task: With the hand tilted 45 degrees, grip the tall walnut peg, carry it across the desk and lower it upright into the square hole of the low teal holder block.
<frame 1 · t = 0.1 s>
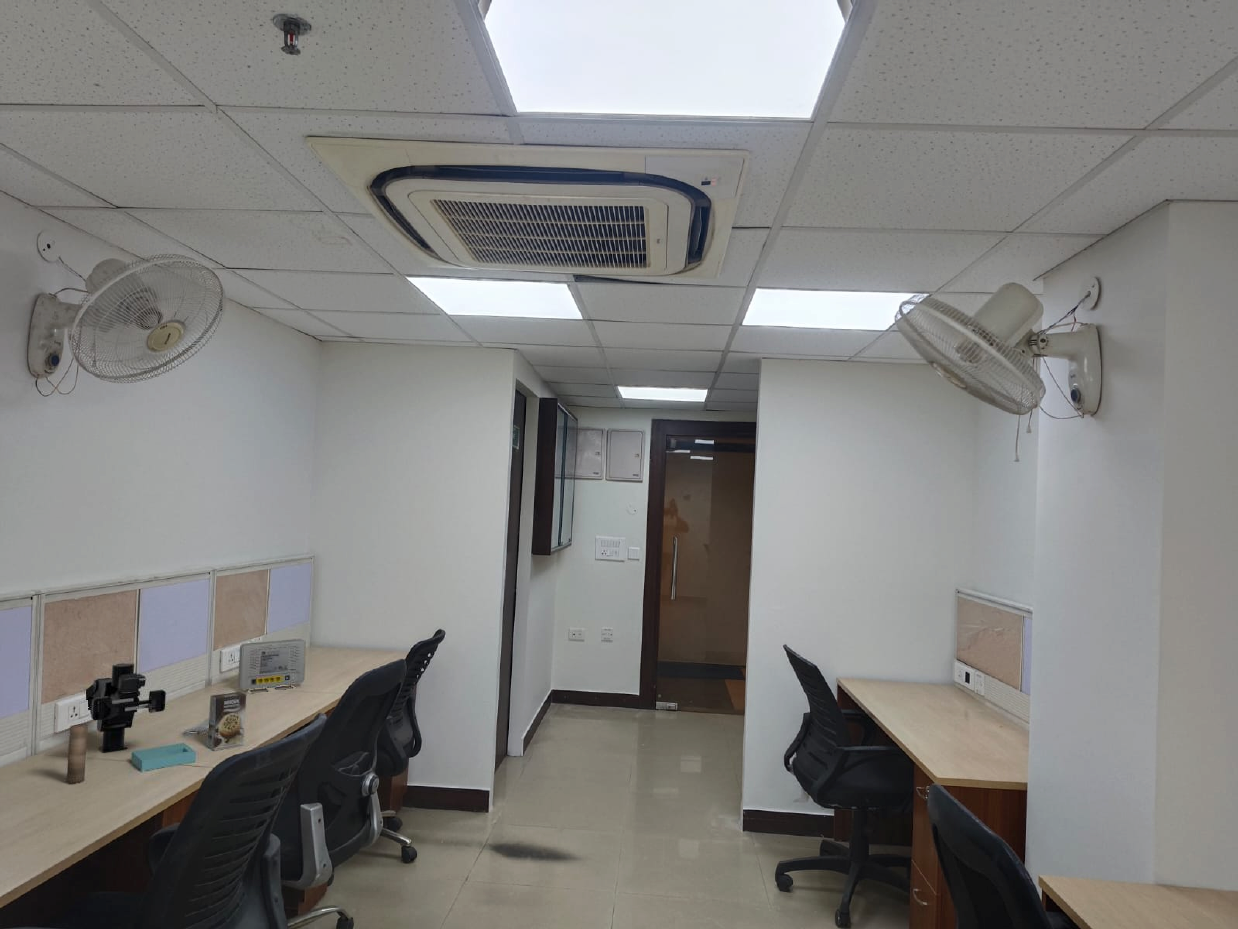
hand: (136, 710, 229), 17 cm above the table, tool horizontal, fingers open, 9 cm apart
holder block: (163, 762, 235), on the table
network device: (271, 690, 331), on the table
brown cookie box: (225, 747, 251), on the table
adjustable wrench: (206, 728, 274), on the table
peg: (75, 782, 216), on the table
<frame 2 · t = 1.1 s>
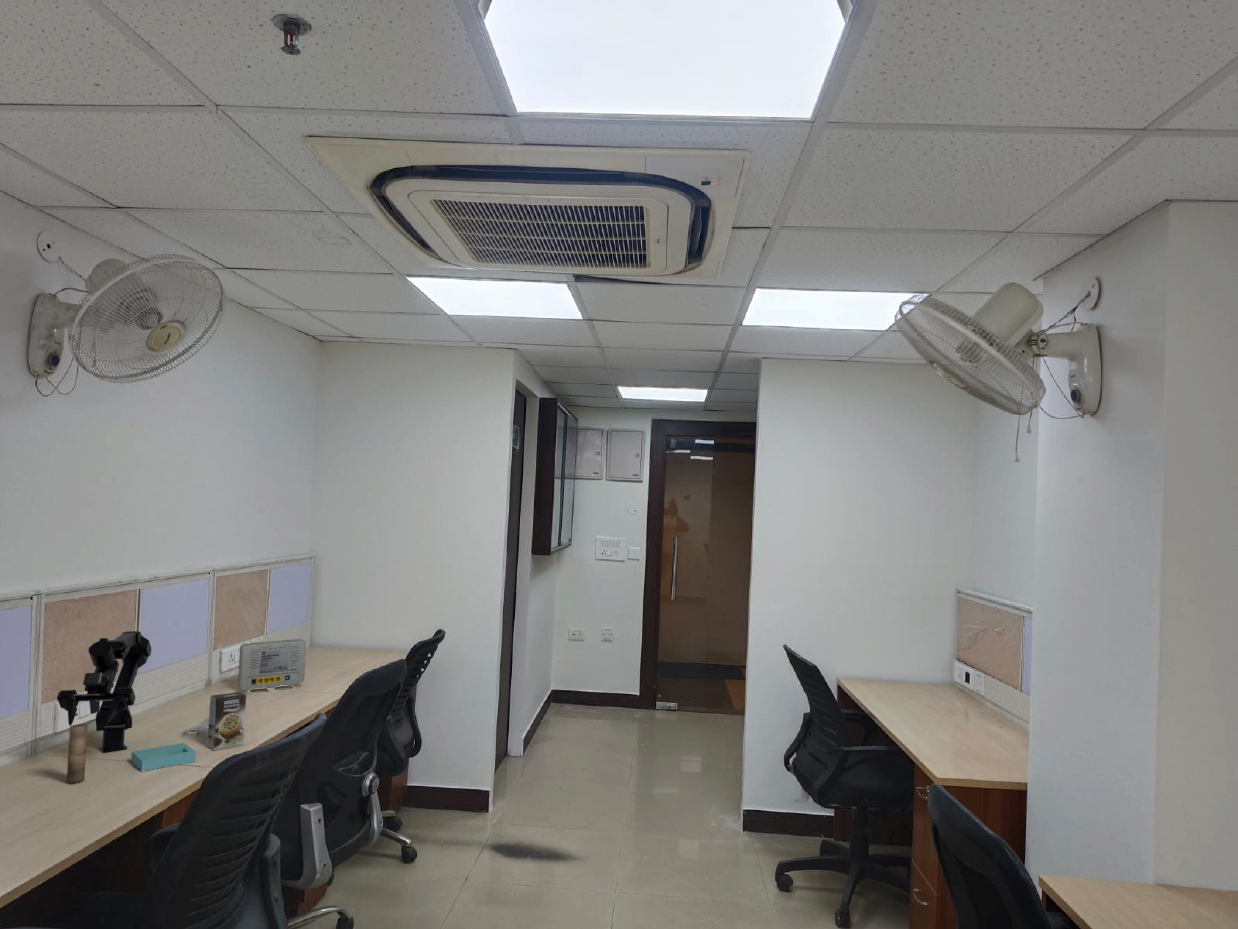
hand: (88, 724, 224), 14 cm above the table, tool tilted 45°, fingers open, 9 cm apart
nothing on the table moved.
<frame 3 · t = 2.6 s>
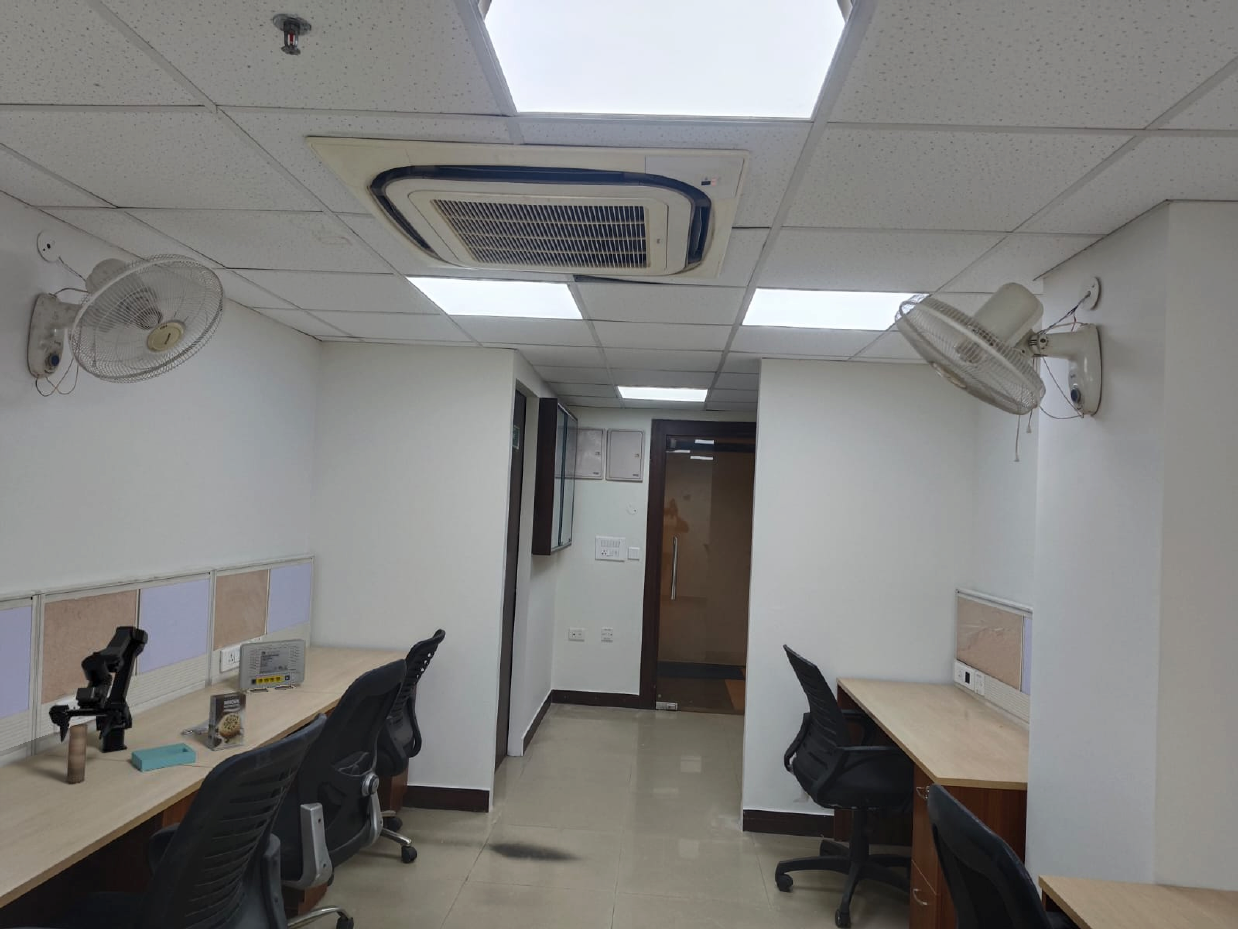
hand: (80, 740, 219), 11 cm above the table, tool tilted 45°, fingers open, 9 cm apart
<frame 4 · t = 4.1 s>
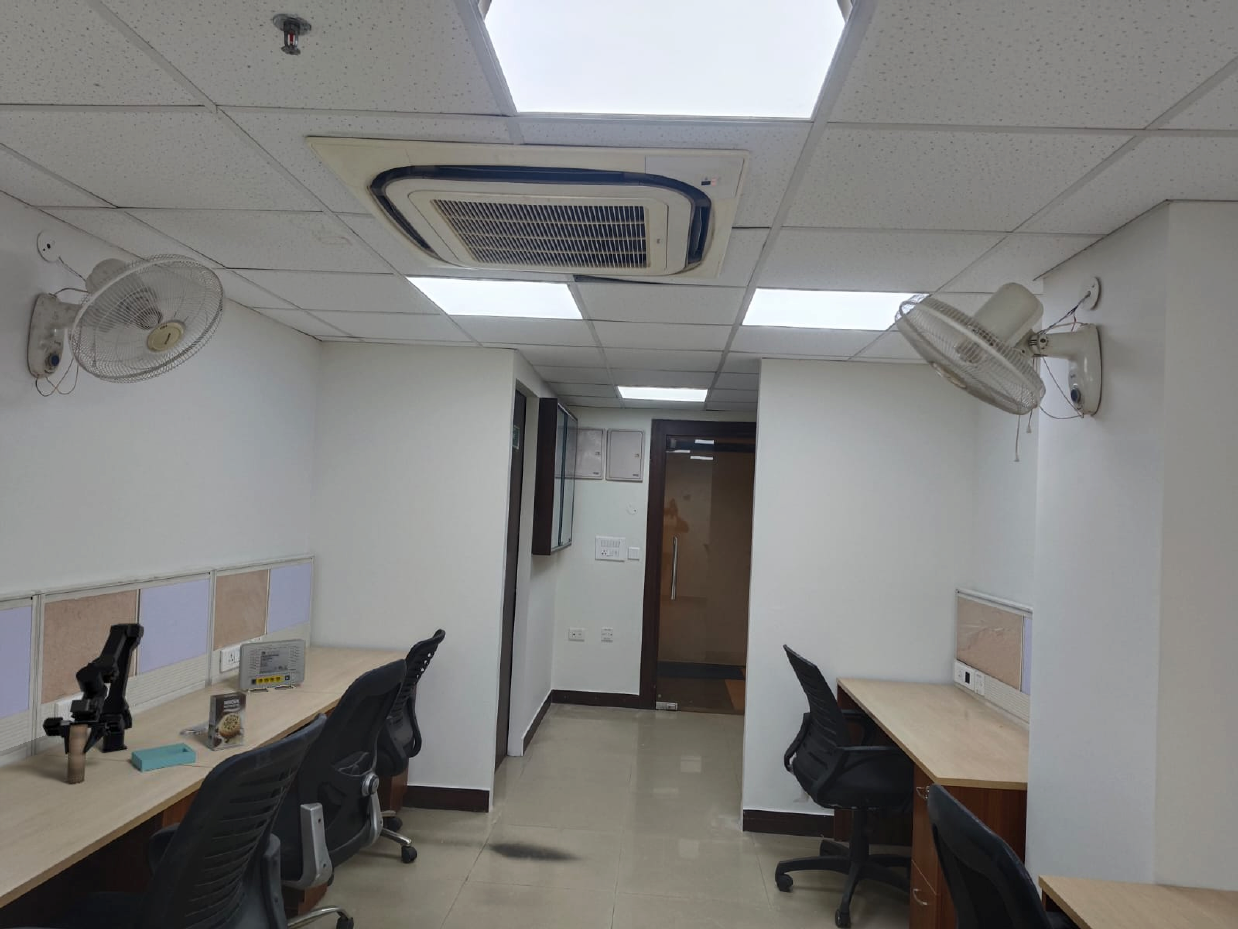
hand: (75, 753, 215), 8 cm above the table, tool tilted 45°, fingers closed on peg, 4 cm apart
peg: (75, 782, 216), on the table, touching gripper
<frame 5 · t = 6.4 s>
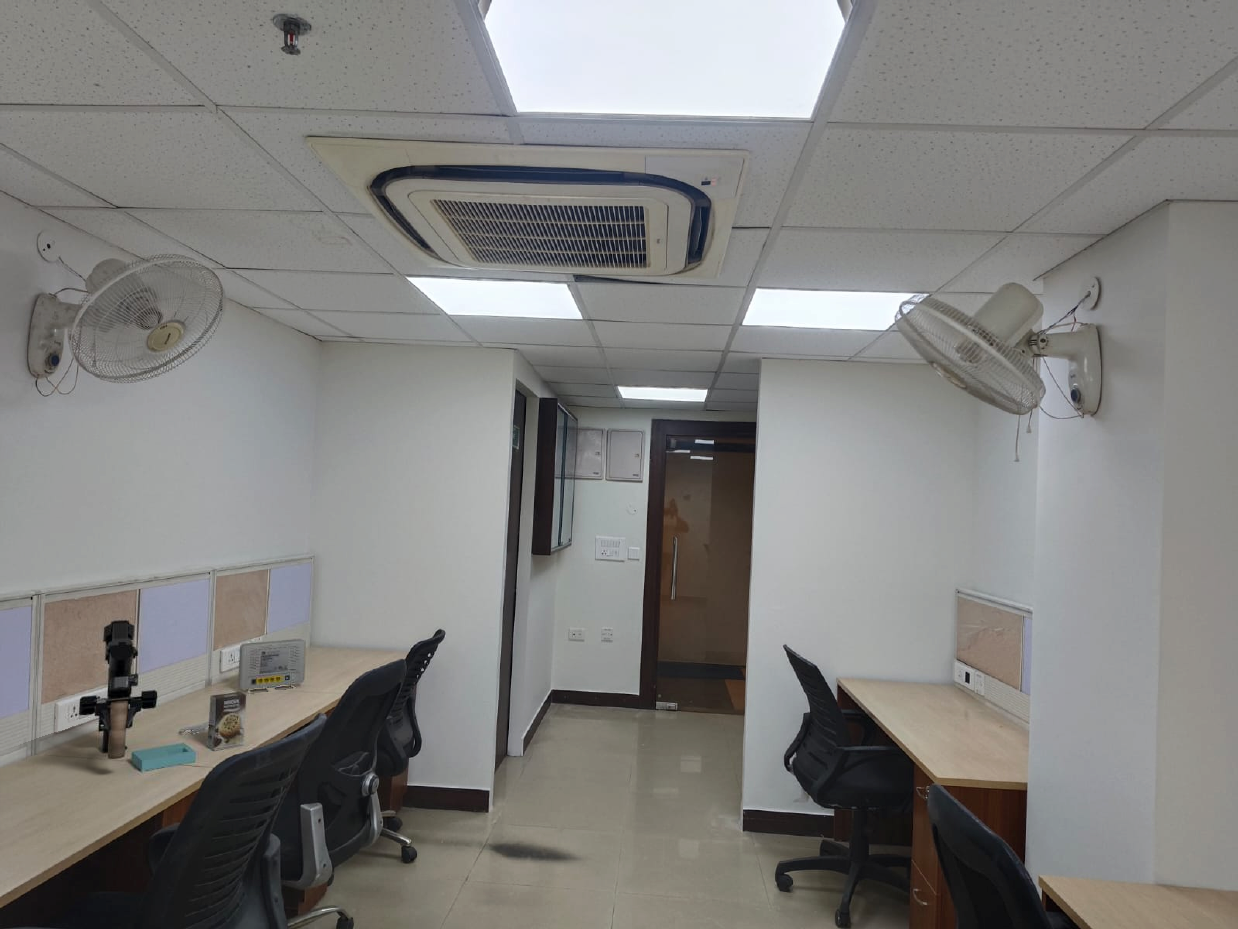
hand: (118, 728, 221), 13 cm above the table, tool tilted 45°, fingers closed on peg, 4 cm apart
peg: (116, 757, 221), point 5 cm above the table, touching gripper
when the fingers open (9 cm above the table, at t = 8.9 s): peg drops 1 cm, resting in holder block.
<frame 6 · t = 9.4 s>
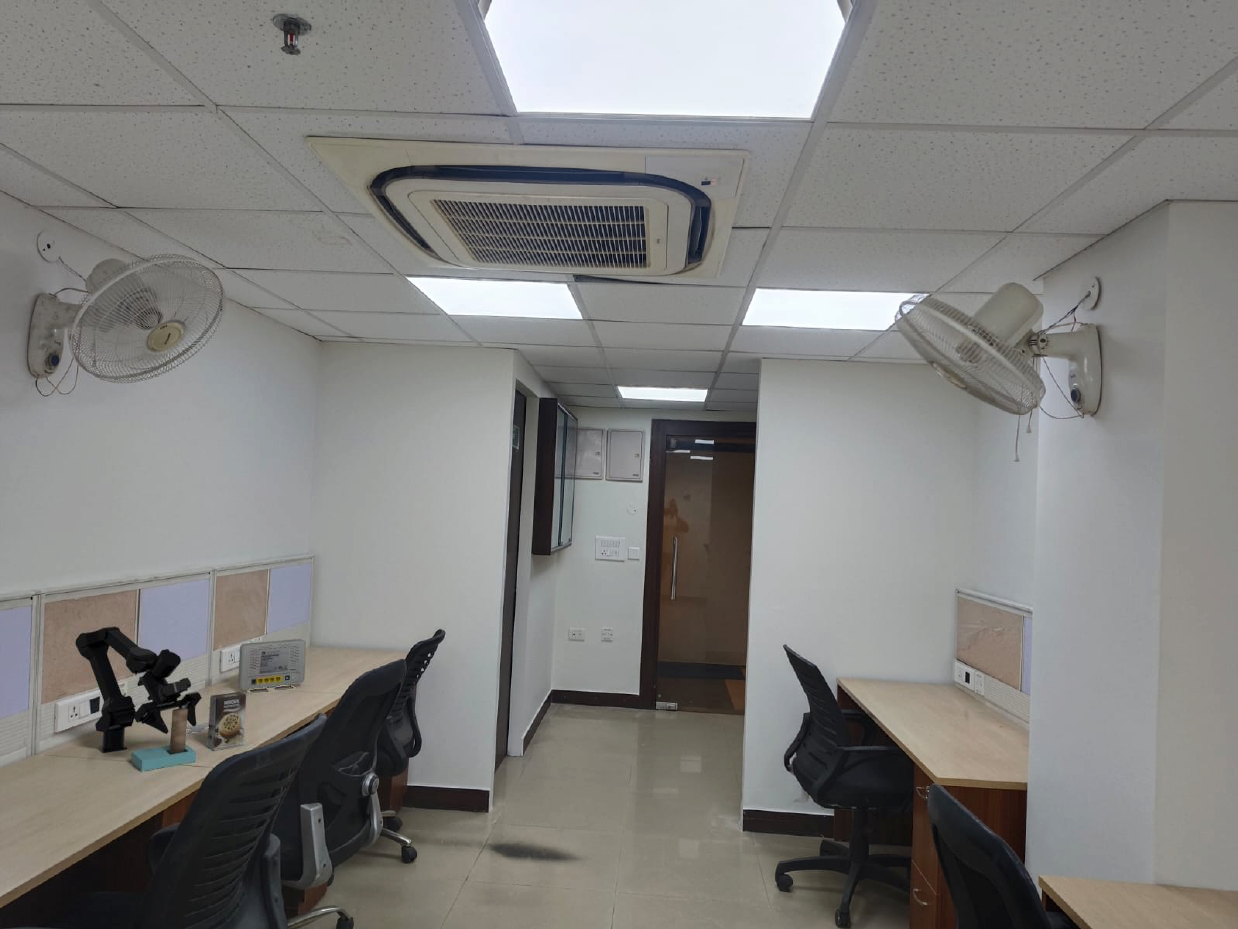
hand: (181, 729, 235), 10 cm above the table, tool tilted 45°, fingers open, 9 cm apart
peg: (176, 761, 235), resting in holder block
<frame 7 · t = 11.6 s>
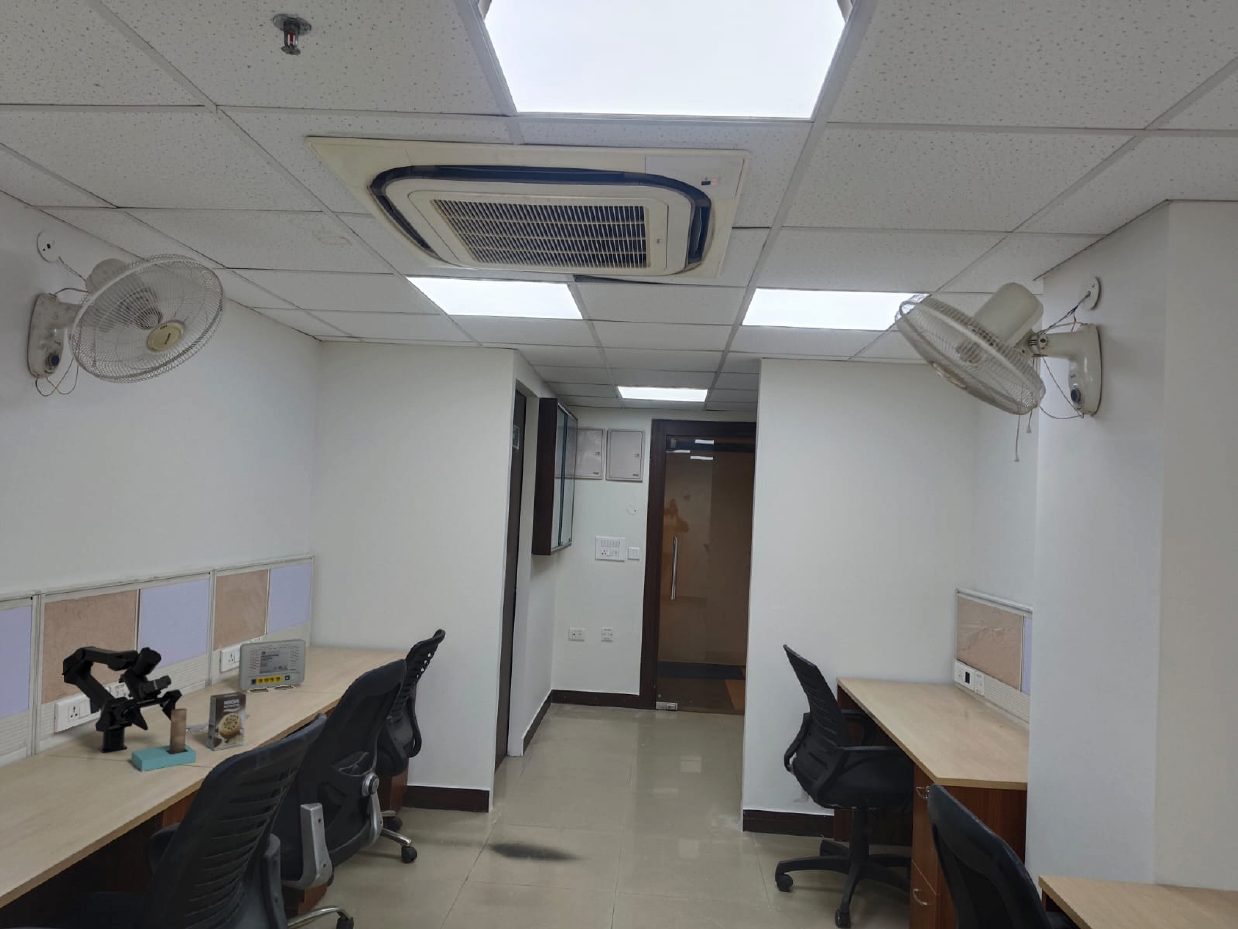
hand: (161, 726, 239), 9 cm above the table, tool tilted 45°, fingers open, 9 cm apart
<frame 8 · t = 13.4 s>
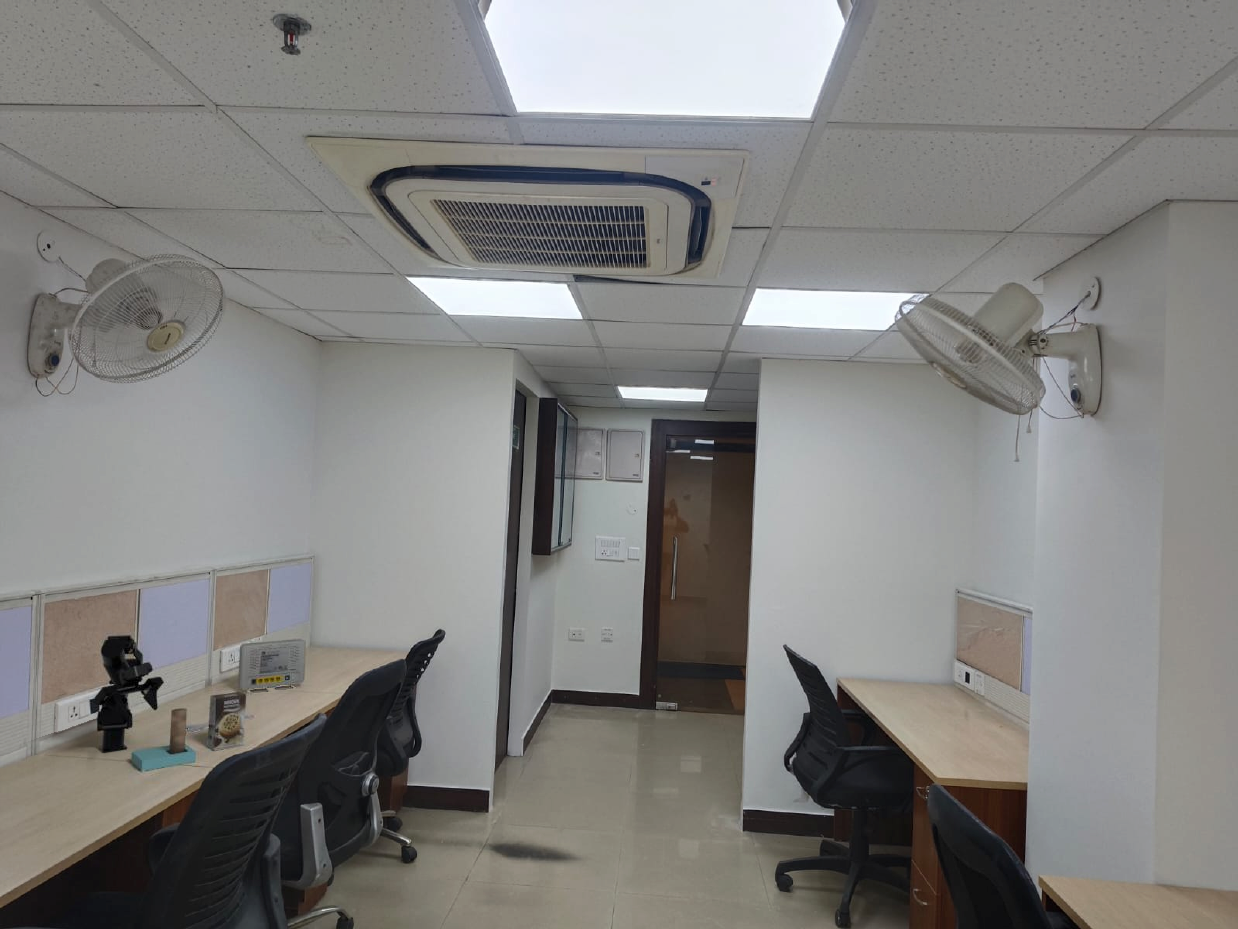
hand: (142, 712, 238), 14 cm above the table, tool tilted 45°, fingers open, 9 cm apart
at the end: peg 0.1 cm from the target spot on the holder block, point 0.0 cm above the holder block's base; peg tilted 0°; the gripper is holding nothing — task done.
